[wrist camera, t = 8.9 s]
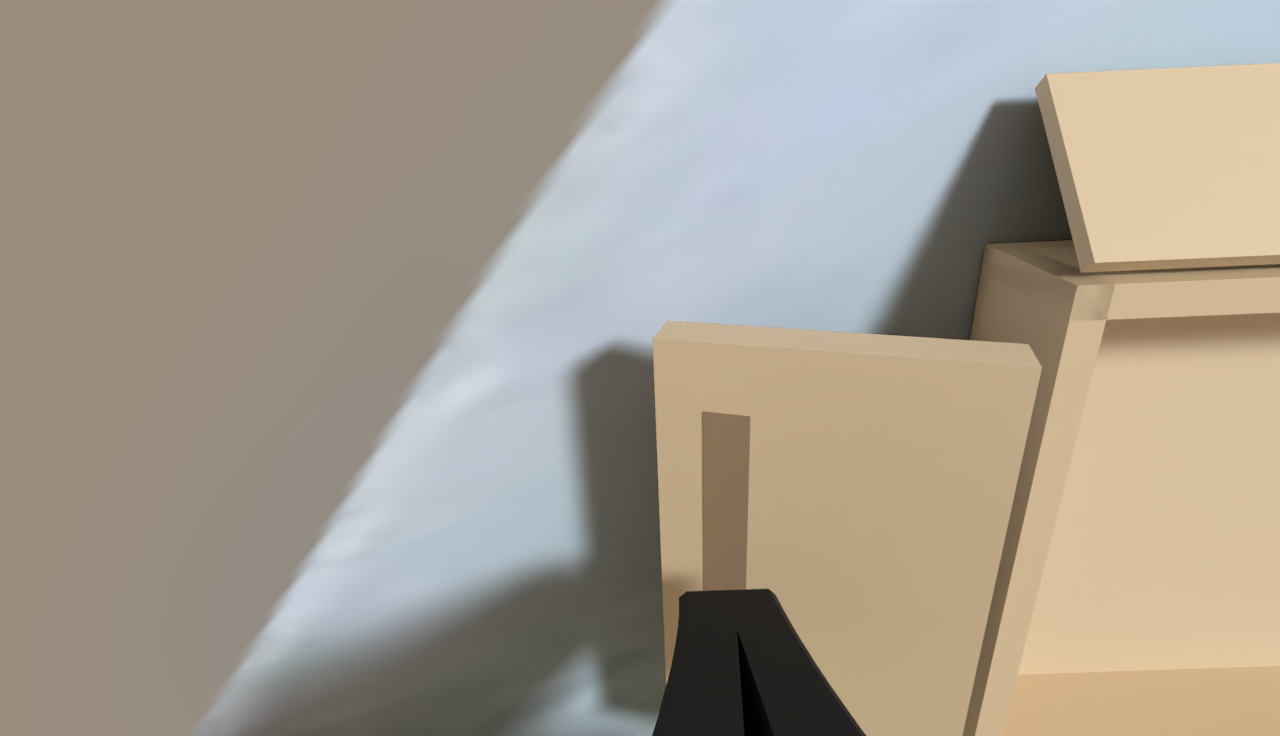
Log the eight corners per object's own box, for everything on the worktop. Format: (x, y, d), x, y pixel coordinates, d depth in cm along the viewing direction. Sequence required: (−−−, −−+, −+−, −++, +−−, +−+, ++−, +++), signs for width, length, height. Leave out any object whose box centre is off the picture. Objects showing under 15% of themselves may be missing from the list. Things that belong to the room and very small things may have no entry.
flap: (652, 339, 10) (668, 320, 10) (667, 746, 13) (678, 710, 14) (1041, 368, 8) (1027, 343, 9) (944, 820, 11) (939, 776, 12)
